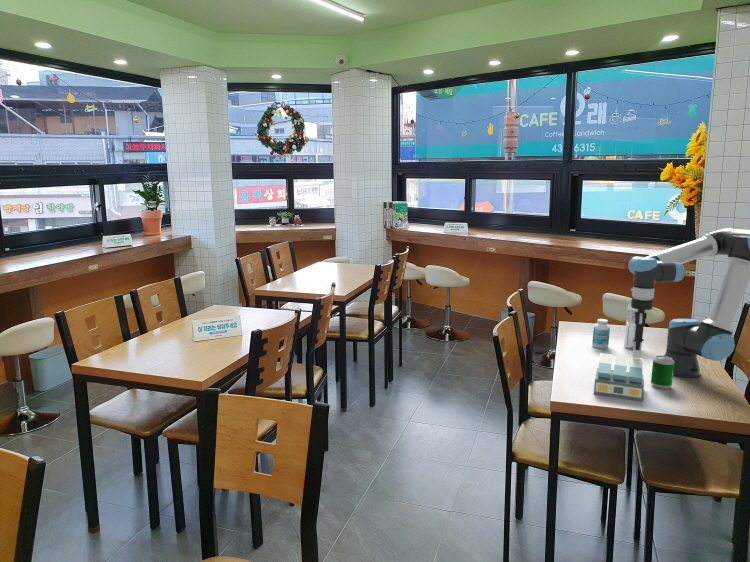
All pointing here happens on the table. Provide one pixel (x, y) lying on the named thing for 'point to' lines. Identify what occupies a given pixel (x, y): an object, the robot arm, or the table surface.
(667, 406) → the table surface
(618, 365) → the rocker
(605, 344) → the pill bottle
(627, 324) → the water bottle
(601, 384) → the switch unit
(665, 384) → the soda can
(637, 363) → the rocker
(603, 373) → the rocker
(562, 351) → the table surface
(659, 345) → the table surface
